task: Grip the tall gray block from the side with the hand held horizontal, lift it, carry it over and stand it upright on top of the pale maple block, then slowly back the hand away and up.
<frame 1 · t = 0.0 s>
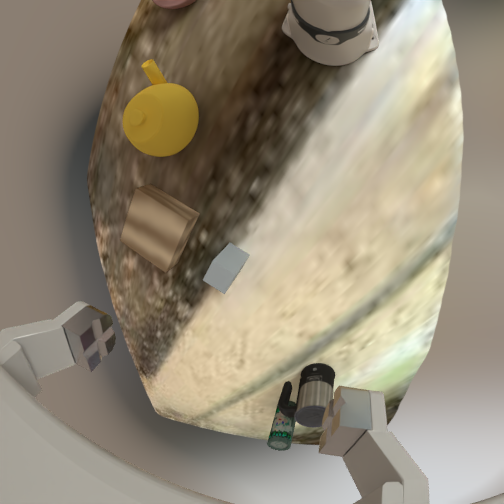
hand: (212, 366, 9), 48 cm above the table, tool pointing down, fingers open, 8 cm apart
gray block: (234, 257, 62), on the table
milk frother: (316, 383, 70), on the table
teapot: (173, 110, 53), on the table
can: (287, 405, 76), on the table
maple block: (164, 223, 63), on the table
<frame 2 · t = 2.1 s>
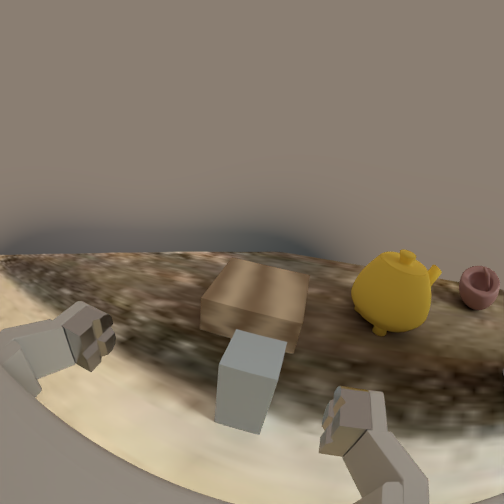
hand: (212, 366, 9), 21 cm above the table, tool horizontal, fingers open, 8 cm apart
mortar and pestle: (469, 306, 55), on the table
gray block: (242, 411, 28), on the table
teapot: (390, 317, 48), on the table
maple block: (256, 316, 45), on the table
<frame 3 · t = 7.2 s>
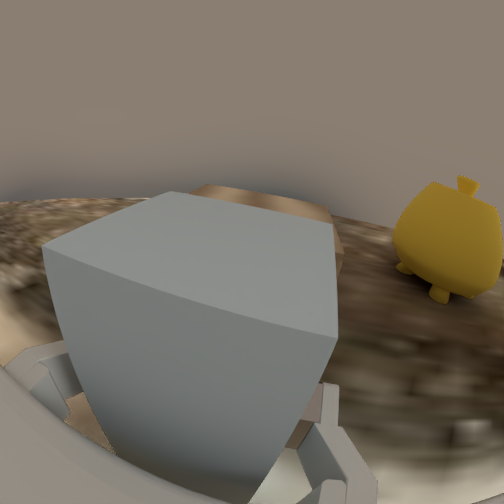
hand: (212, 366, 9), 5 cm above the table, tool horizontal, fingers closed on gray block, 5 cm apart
gray block: (201, 449, 10), on the table, touching gripper
teapot: (444, 282, 31), on the table
maple block: (247, 268, 27), on the table
when the fingers open (12 cm above the table, at t = 15.9 s): gray block drops 1 cm, resting on maple block.
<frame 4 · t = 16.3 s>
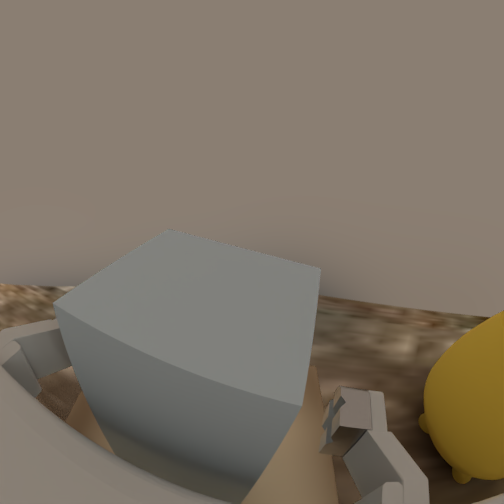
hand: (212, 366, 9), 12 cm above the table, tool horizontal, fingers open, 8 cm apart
gray block: (196, 457, 10), point 6 cm above the table, touching maple block
teapot: (474, 426, 17), on the table
maple block: (195, 480, 13), on the table, touching gray block
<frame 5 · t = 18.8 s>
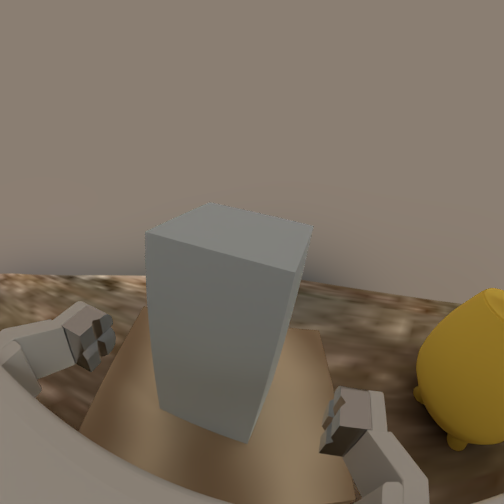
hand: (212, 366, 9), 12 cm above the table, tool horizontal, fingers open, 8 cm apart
gray block: (219, 395, 14), point 6 cm above the table, touching maple block
teapot: (467, 400, 20), on the table
maple block: (215, 436, 17), on the table, touching gray block
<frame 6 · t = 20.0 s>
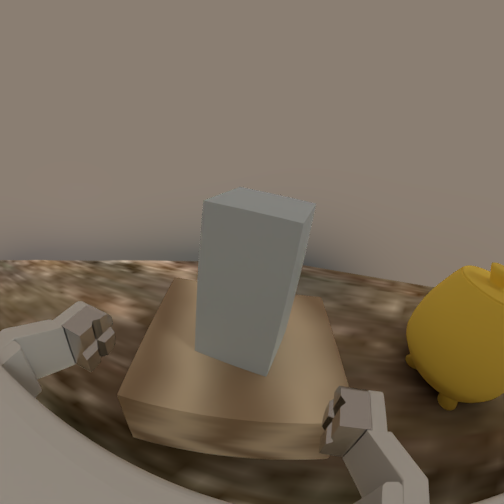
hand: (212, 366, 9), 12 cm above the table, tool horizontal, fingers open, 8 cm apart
gray block: (243, 341, 19), point 6 cm above the table, touching maple block
teapot: (455, 369, 25), on the table
maple block: (236, 388, 22), on the table, touching gray block
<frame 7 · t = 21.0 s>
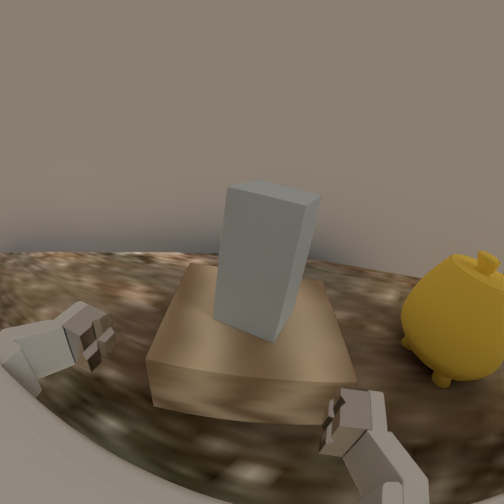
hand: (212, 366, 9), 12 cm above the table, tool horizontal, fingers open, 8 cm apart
gray block: (255, 314, 22), point 6 cm above the table, touching maple block
teapot: (449, 353, 28), on the table
maple block: (246, 362, 25), on the table, touching gray block
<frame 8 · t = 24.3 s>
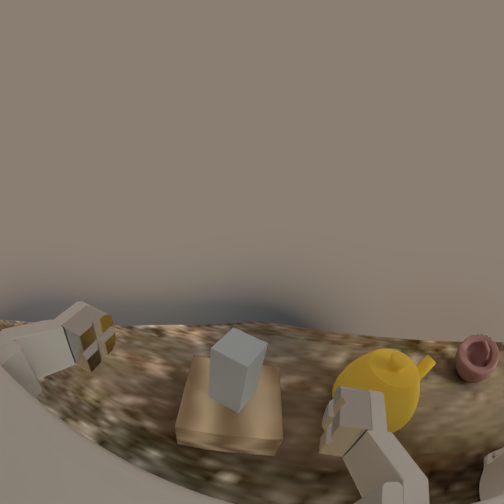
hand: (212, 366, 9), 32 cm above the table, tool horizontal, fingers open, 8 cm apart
mortar and pestle: (464, 376, 48), on the table
gray block: (232, 393, 36), point 6 cm above the table
teapot: (374, 408, 41), on the table
maple block: (229, 416, 39), on the table
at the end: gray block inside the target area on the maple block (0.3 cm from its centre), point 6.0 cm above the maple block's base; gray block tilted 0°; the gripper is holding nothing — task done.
